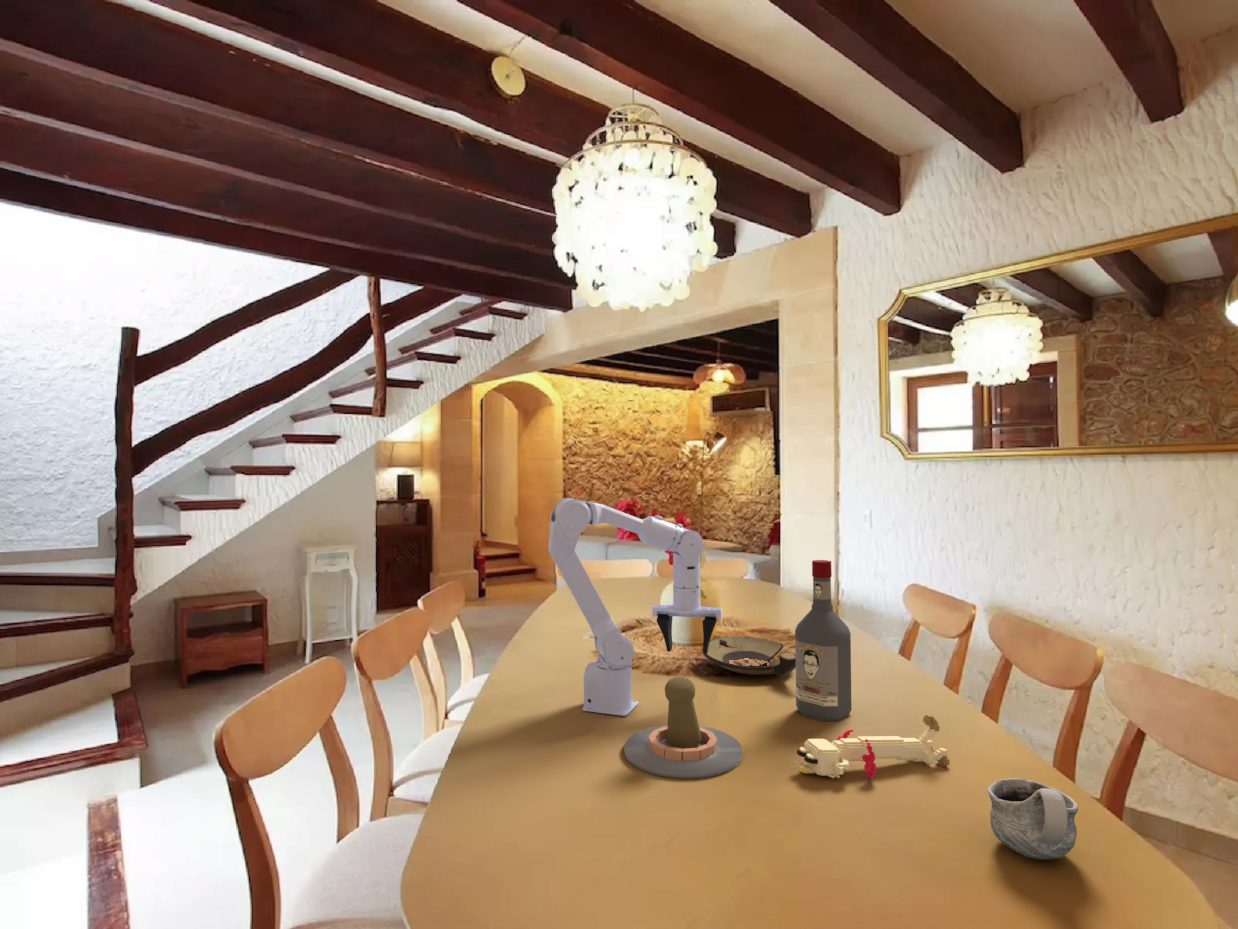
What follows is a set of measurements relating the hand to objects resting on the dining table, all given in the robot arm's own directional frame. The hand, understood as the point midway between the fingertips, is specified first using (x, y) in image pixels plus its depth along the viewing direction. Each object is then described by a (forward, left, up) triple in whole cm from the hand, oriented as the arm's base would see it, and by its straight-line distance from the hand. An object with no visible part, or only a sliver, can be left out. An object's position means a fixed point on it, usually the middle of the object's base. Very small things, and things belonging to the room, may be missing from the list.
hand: (687, 651), depth 141 cm
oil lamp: (+9, +25, -11) cm, 29 cm away
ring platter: (+6, -25, -10) cm, 28 cm away
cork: (+6, -23, -9) cm, 26 cm away
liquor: (+27, +3, -11) cm, 29 cm away
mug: (+56, -40, -11) cm, 70 cm away
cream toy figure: (+36, -20, -11) cm, 43 cm away
